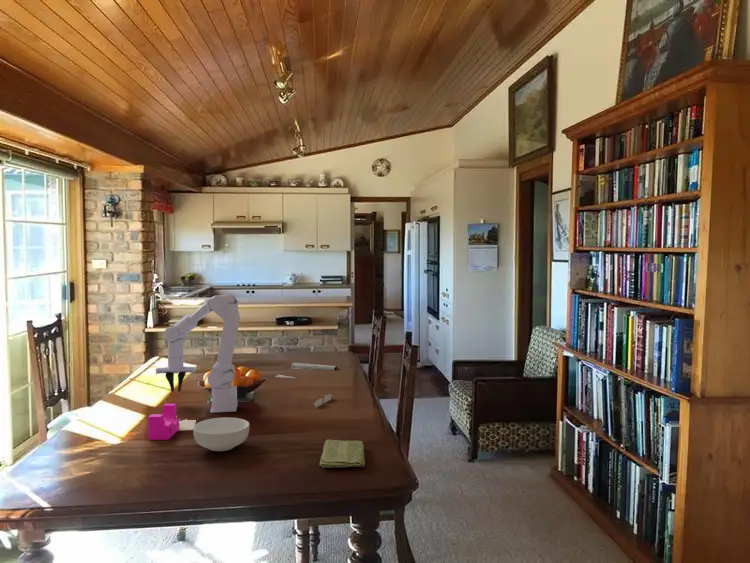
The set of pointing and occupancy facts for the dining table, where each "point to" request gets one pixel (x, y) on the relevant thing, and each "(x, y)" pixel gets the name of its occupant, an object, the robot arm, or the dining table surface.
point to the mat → (309, 366)
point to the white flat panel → (186, 424)
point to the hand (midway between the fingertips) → (176, 391)
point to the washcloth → (342, 454)
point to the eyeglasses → (319, 401)
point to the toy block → (163, 423)
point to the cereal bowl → (221, 433)
